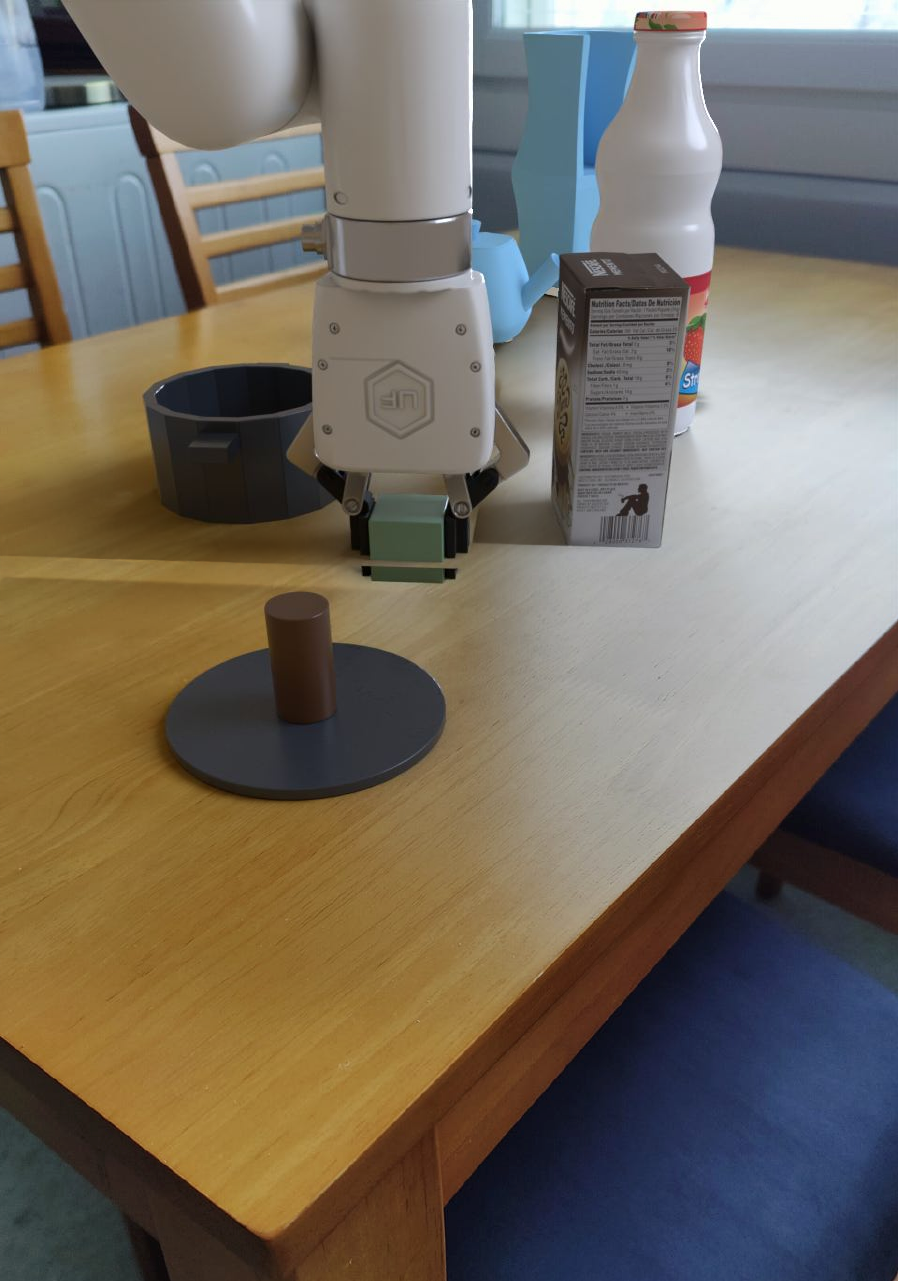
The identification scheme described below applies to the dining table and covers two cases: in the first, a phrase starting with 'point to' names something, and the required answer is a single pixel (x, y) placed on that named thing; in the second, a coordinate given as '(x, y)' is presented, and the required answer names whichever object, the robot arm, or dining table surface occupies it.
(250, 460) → the pot
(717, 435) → the dining table surface
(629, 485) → the coffee box
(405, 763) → the lid
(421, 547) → the block
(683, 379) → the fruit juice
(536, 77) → the vase
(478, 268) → the teapot
